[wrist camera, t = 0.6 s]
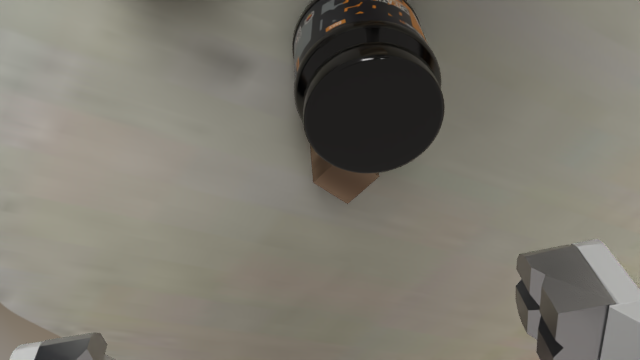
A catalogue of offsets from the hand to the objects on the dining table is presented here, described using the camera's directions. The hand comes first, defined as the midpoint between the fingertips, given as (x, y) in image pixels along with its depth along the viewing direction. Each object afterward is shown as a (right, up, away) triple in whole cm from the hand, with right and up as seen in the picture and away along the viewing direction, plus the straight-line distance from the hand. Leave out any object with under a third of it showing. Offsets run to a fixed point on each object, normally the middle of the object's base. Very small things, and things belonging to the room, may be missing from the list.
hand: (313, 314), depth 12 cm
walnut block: (+2, +7, +44) cm, 44 cm away
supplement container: (+3, +14, +37) cm, 40 cm away
